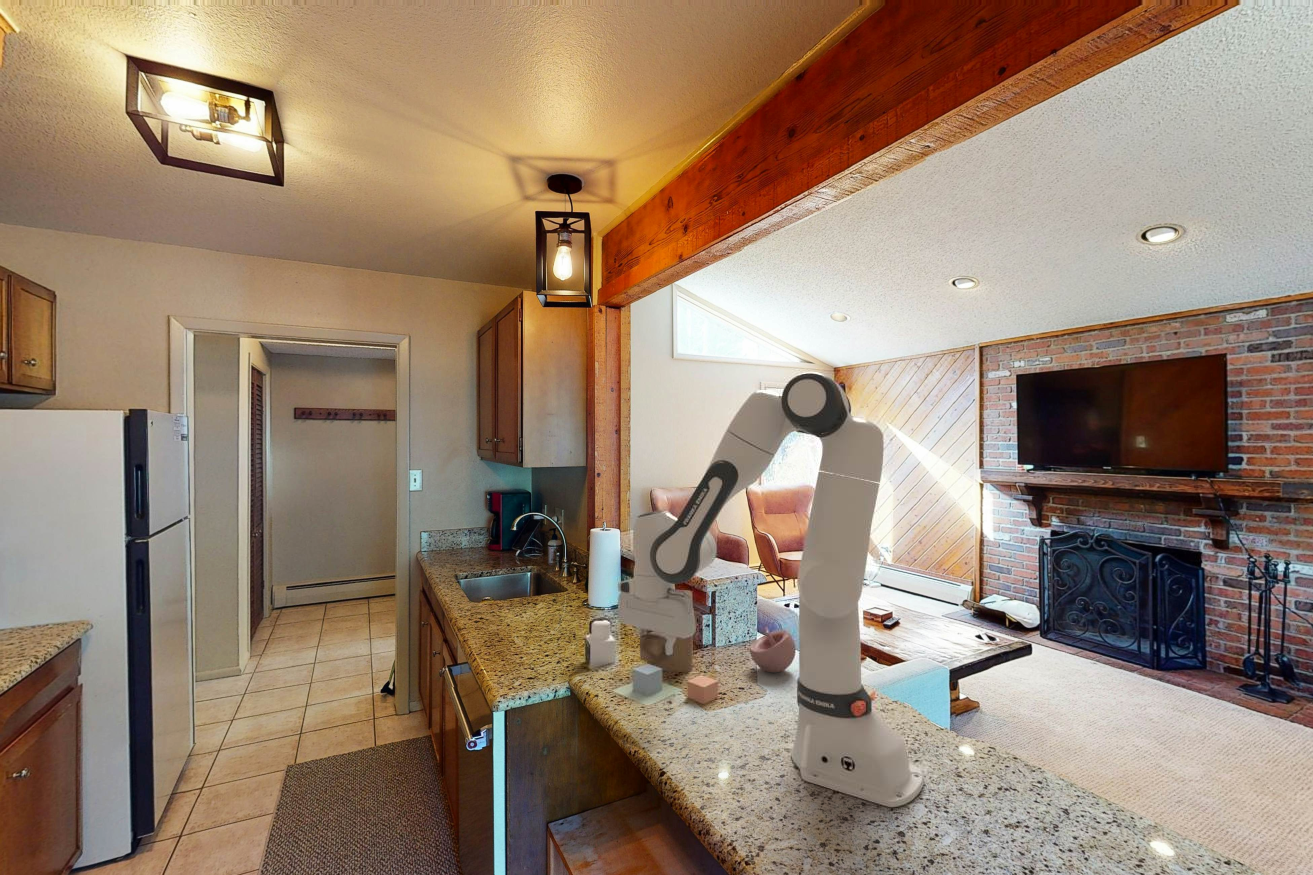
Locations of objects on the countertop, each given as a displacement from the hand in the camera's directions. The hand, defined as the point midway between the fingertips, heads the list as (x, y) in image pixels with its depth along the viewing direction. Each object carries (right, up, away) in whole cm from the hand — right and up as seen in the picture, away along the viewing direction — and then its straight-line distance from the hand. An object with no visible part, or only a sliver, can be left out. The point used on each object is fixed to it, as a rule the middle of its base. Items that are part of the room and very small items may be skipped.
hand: (656, 650), depth 120 cm
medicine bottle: (-16, -17, +33) cm, 40 cm away
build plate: (-2, -15, +12) cm, 20 cm away
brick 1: (0, -2, 0) cm, 2 cm away
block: (+5, -16, +29) cm, 34 cm away
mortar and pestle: (+31, -16, +28) cm, 44 cm away
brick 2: (-2, -14, +12) cm, 19 cm away
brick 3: (+11, -15, +8) cm, 20 cm away
